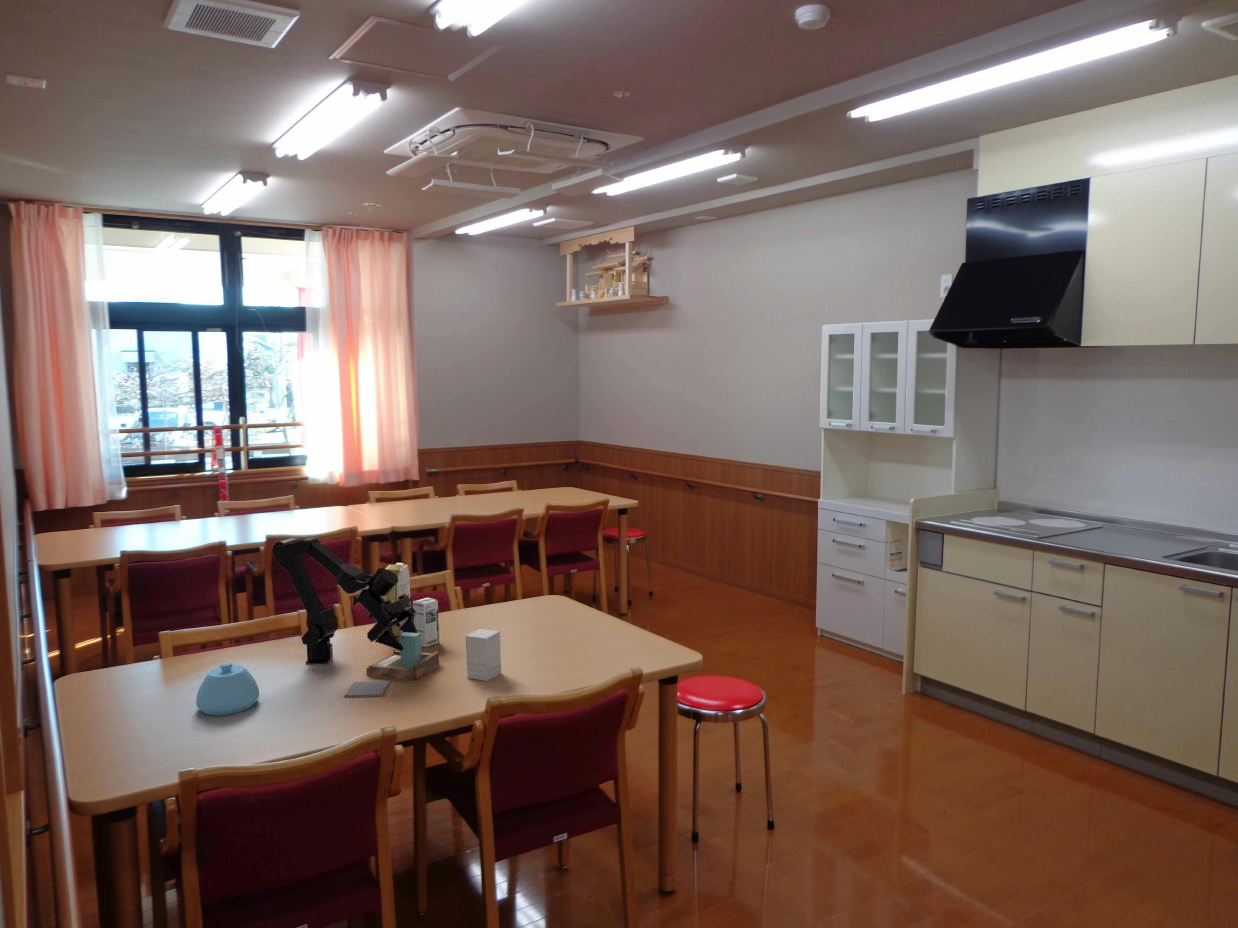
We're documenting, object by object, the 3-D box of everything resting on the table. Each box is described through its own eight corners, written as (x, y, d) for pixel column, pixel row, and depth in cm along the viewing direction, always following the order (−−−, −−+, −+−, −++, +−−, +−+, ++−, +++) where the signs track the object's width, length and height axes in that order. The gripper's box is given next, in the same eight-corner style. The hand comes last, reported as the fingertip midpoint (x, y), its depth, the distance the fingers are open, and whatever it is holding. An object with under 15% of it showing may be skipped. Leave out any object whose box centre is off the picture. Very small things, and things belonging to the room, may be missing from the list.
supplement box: (502, 673, 240) (501, 631, 238) (487, 681, 233) (486, 638, 232) (480, 669, 243) (479, 627, 241) (466, 677, 236) (464, 635, 235)
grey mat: (344, 697, 222) (344, 695, 222) (354, 683, 232) (354, 681, 232) (381, 696, 223) (381, 694, 223) (390, 682, 233) (390, 680, 233)
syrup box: (425, 647, 263) (424, 603, 261) (413, 644, 266) (412, 600, 265) (439, 642, 267) (438, 599, 265) (427, 639, 271) (426, 596, 269)
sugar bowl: (218, 722, 207) (216, 678, 205) (184, 710, 215) (182, 667, 213) (271, 702, 219) (269, 660, 218) (237, 691, 227) (235, 650, 226)
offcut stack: (375, 674, 240) (375, 664, 240) (394, 663, 249) (394, 653, 249) (389, 676, 239) (388, 666, 238) (407, 664, 248) (407, 654, 248)
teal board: (401, 671, 242) (399, 635, 240) (406, 667, 244) (405, 631, 243) (416, 673, 240) (415, 636, 239) (421, 669, 243) (420, 633, 242)
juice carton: (405, 637, 273) (403, 566, 271) (382, 637, 273) (379, 566, 271) (413, 628, 283) (410, 560, 280) (390, 628, 283) (387, 560, 280)
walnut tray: (365, 675, 238) (365, 661, 238) (392, 659, 252) (391, 646, 252) (415, 680, 234) (415, 667, 233) (440, 664, 247) (439, 651, 247)
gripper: (374, 596, 232) (410, 637, 230) (409, 580, 250) (443, 618, 248) (351, 621, 235) (387, 662, 233) (387, 604, 253) (420, 641, 251)
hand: (410, 644), depth 241 cm, fingers open, 9 cm apart
